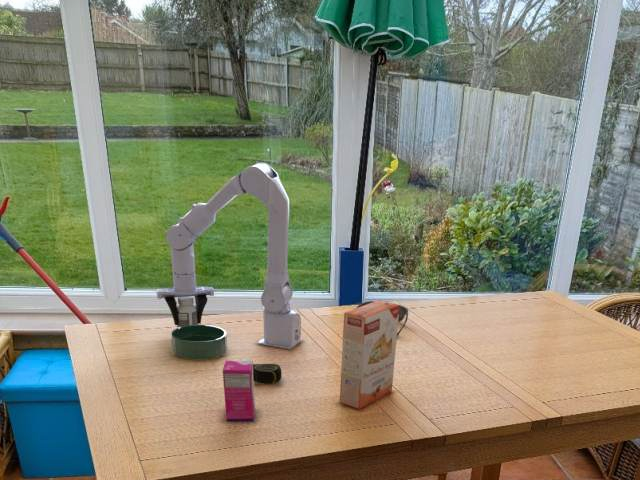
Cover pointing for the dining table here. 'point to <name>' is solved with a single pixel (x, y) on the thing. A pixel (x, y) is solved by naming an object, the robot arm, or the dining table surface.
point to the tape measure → (266, 373)
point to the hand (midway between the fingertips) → (187, 323)
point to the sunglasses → (402, 313)
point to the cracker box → (368, 353)
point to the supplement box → (239, 390)
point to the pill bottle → (186, 312)
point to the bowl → (199, 342)
